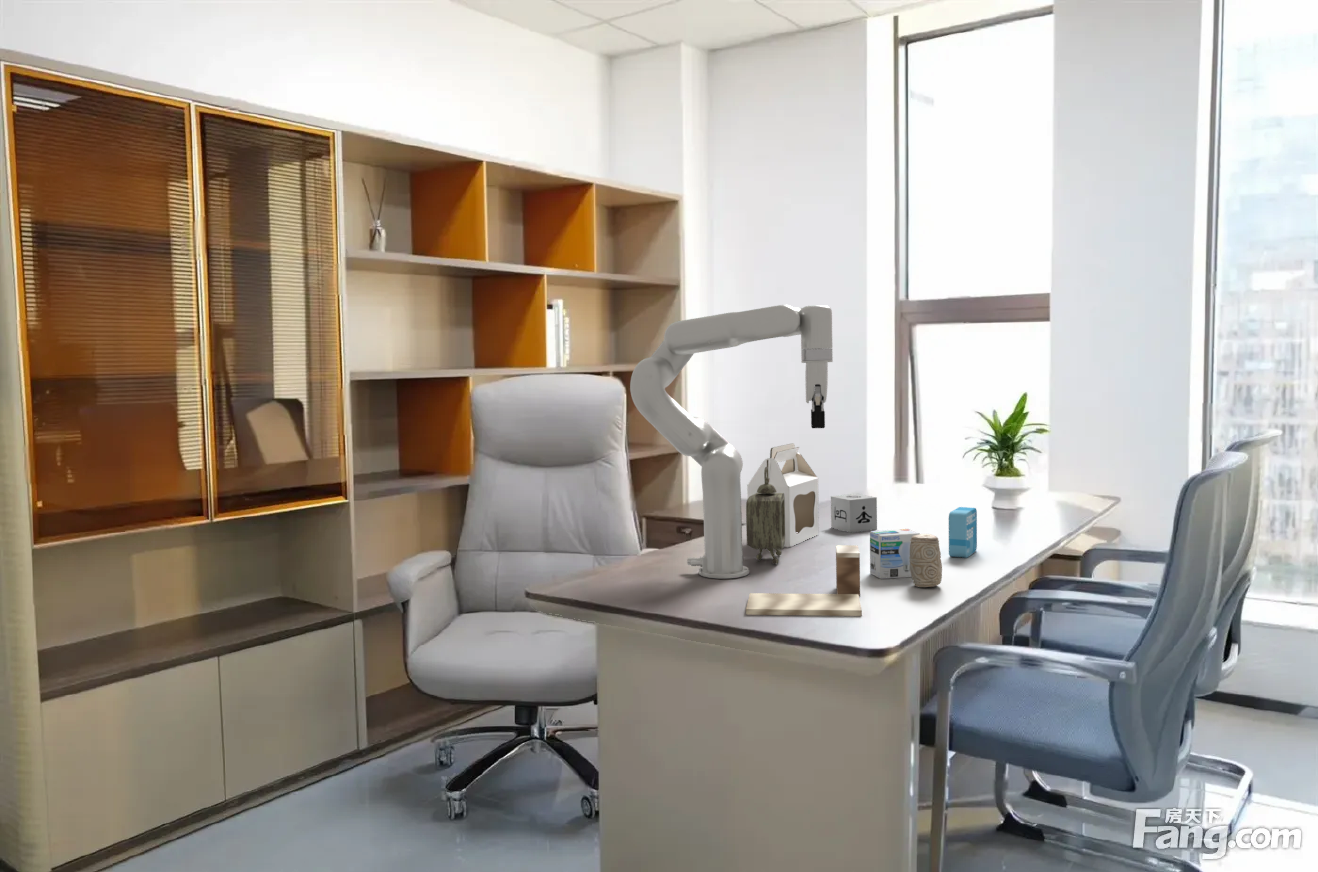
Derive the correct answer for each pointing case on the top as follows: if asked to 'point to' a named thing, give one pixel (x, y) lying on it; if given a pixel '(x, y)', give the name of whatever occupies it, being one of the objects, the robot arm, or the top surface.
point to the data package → (962, 532)
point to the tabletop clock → (766, 520)
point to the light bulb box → (890, 553)
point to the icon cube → (854, 512)
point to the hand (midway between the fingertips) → (817, 426)
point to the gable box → (792, 491)
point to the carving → (925, 560)
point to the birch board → (804, 604)
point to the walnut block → (847, 569)
